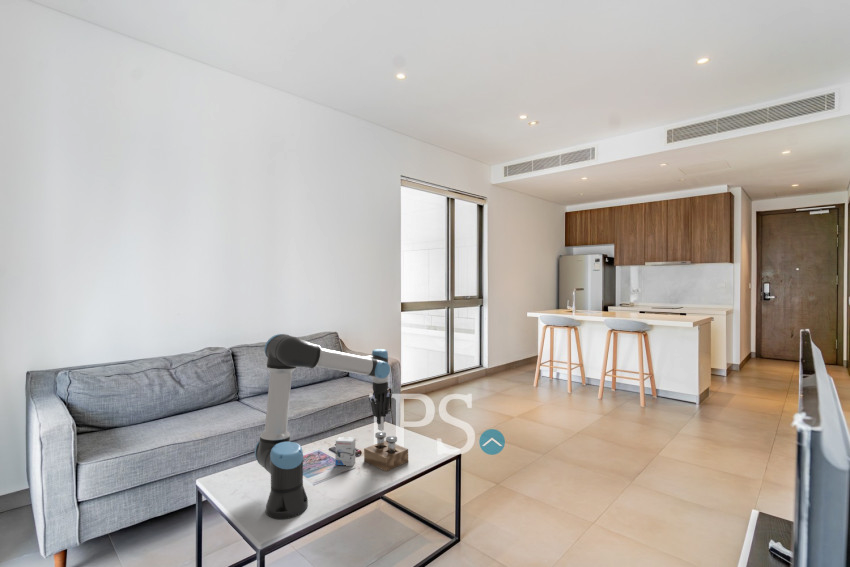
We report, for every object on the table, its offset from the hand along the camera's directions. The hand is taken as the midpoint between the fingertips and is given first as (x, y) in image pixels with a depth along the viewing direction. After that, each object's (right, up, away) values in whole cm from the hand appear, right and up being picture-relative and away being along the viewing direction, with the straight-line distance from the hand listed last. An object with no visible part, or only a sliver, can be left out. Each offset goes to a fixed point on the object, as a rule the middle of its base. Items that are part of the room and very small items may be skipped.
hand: (380, 429), depth 203 cm
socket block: (+3, -14, -3) cm, 15 cm away
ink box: (-16, -15, -5) cm, 22 cm away
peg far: (0, -9, 0) cm, 9 cm away
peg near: (+6, -9, -6) cm, 12 cm away
